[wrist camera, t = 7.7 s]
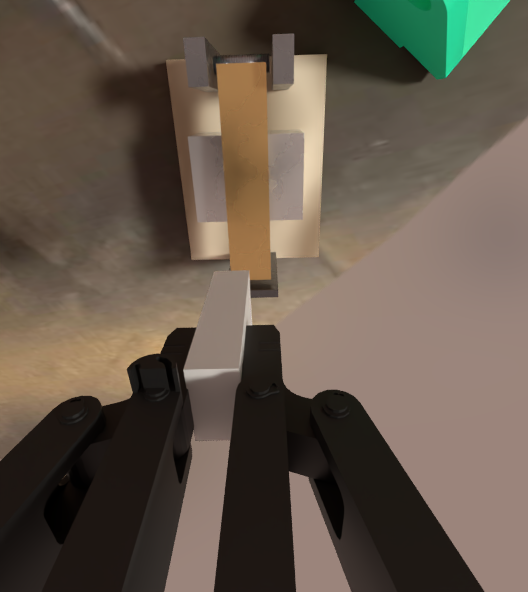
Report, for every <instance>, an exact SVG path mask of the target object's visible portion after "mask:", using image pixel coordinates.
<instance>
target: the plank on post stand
mask: <svg viewBox="0 0 528 592" xmlns="http://www.w3.org/2000/svg"><path fill="white" fill-rule="evenodd" d="M183 42H184V51H185V60H186V69H187V78H188V87H189V88H193V89H197V90H200V91H204V92H218V82H217V75H215V74H214V69H213V56H219V55H220V54H219V53H218V52H217V51H216V49H215V48H214V47H213V46H212V45H211V44H210V43H209V42H208V40H207V39H206V38H205V37H190V38H183ZM271 54H272V90H288V89H289V88H290V87H291V86H292V85H293V84H294V34H273V36H272V53H271ZM188 144H189V152H190V161H191V170H192V178H193V187H194V195H195V204H196V213H197V221H198V222H227V209H226V195H225V181H224V167H223V153H222V138H221V132H200V133H197V134H194V135H191V136H188ZM268 167H269V211H270V221H271V220H303V181H304V132H302V131H301V130H299V129H293V130H268ZM270 255H271V280H250V296H251V298H257V297H278V281H277V262H276V252H270ZM229 271H231V266H230V269H229Z"/></svg>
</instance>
